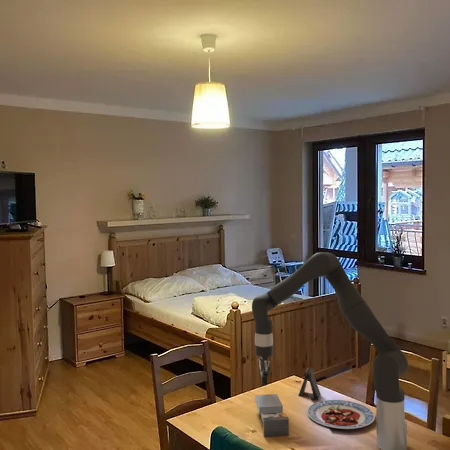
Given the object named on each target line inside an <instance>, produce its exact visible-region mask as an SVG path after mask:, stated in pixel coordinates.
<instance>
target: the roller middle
mask: <svg viewBox="0 0 450 450" xmlns="http://www.w3.org/2000/svg"><path fill="white" fill-rule="evenodd" d="M260 417H261V422H262V423H263V418H270V417H281V413H266V414H261V415H260Z"/></svg>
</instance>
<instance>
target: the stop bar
mask: <svg viewBox="0 0 450 450" xmlns="http://www.w3.org/2000/svg"><path fill="white" fill-rule="evenodd" d="M289 420H290V419H289V417H288V416H280V417H270V418H263V422H262V435H263V438H273V437H275V438H276V437H290V429H289V428H290V425H289V424H290V422H289Z"/></svg>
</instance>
